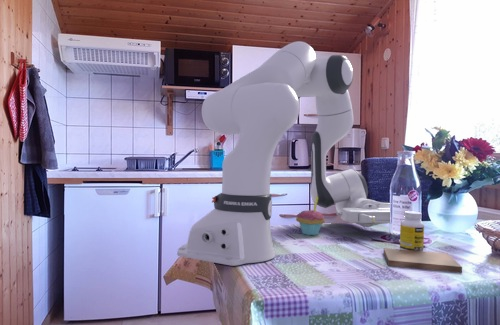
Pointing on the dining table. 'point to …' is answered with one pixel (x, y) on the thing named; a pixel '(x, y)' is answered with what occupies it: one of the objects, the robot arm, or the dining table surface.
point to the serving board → (421, 260)
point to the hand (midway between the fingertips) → (388, 219)
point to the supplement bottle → (412, 232)
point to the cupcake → (310, 220)
